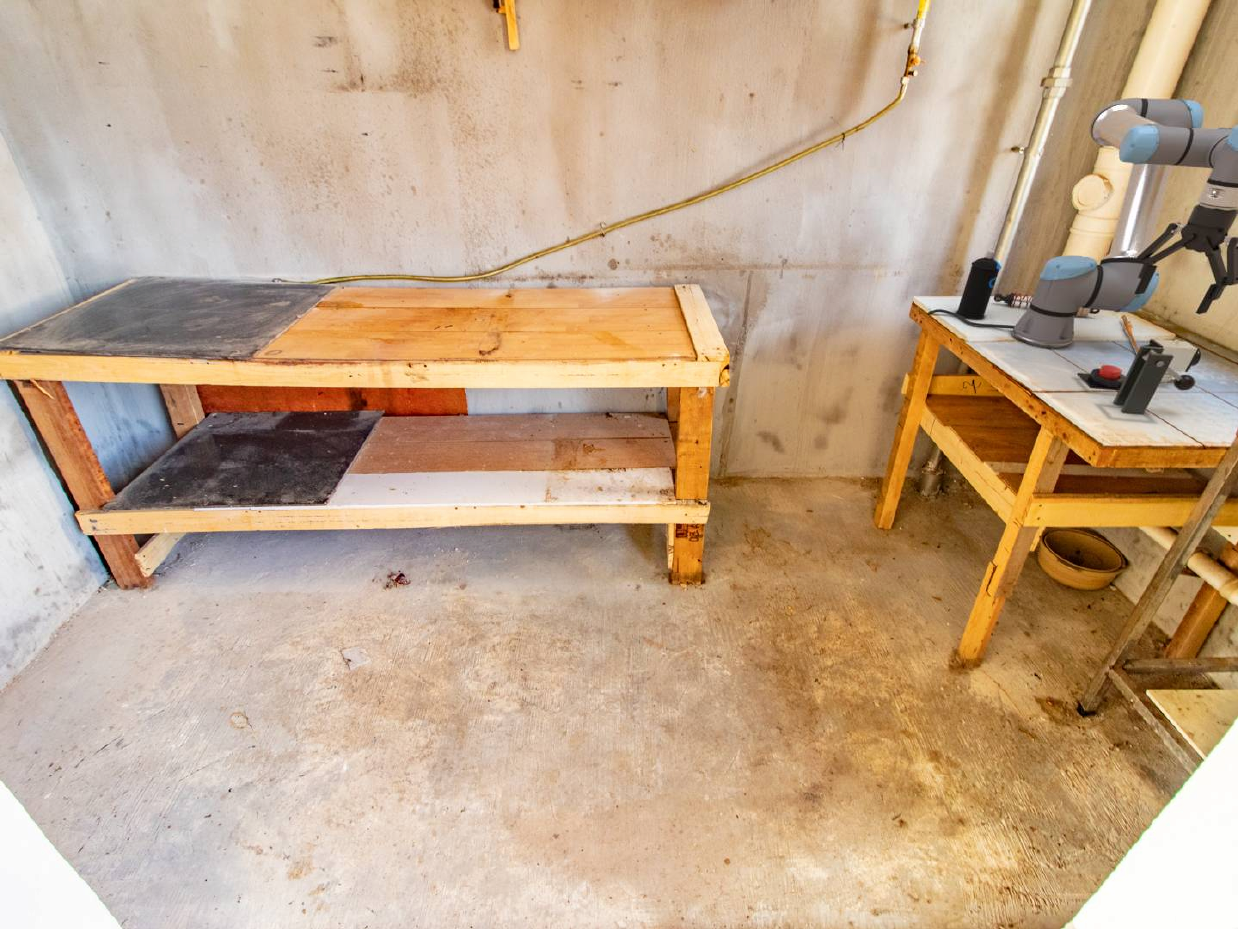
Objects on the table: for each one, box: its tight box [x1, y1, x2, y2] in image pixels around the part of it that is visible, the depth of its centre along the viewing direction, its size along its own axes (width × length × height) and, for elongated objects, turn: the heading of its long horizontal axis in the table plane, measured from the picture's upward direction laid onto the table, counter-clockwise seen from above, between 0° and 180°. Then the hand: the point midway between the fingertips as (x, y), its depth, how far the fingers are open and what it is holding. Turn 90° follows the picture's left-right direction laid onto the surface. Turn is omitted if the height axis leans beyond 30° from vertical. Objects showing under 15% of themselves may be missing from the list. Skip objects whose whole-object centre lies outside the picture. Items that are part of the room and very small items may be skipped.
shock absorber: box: [993, 292, 1101, 318], centre depth 209 cm, size 5×5×30 cm
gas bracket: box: [1112, 345, 1174, 416], centre depth 149 cm, size 9×7×16 cm
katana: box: [1121, 315, 1140, 356], centre depth 189 cm, size 1×35×3 cm, turn 155°
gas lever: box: [1142, 349, 1196, 392], centre depth 146 cm, size 13×4×4 cm, turn 81°
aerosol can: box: [955, 249, 1002, 321], centre depth 201 cm, size 8×8×20 cm
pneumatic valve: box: [1143, 338, 1202, 383], centre depth 164 cm, size 6×12×12 cm, turn 82°
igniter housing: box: [1076, 367, 1126, 392], centre depth 163 cm, size 10×8×4 cm
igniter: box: [1098, 364, 1123, 379], centre depth 162 cm, size 4×4×2 cm
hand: (1169, 302), depth 150 cm, fingers open, 13 cm apart
